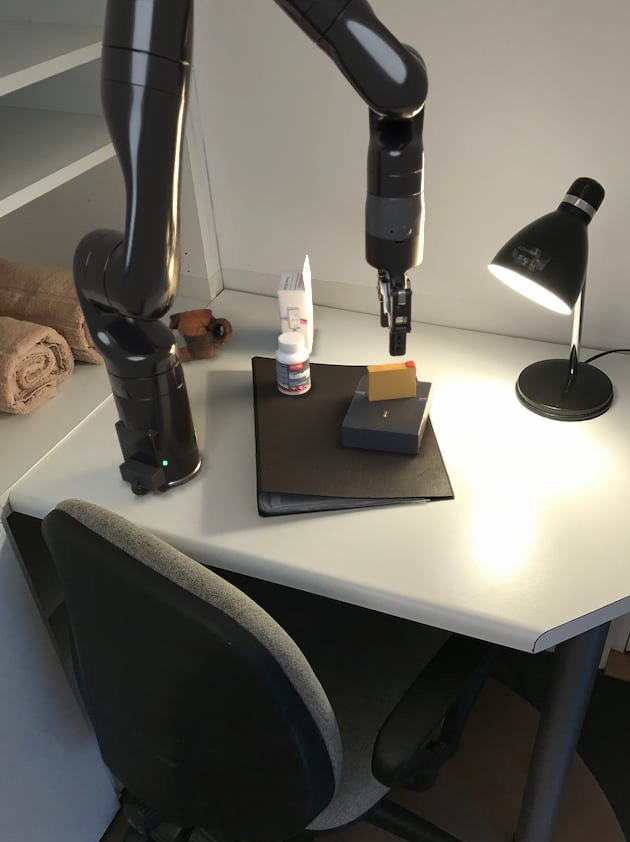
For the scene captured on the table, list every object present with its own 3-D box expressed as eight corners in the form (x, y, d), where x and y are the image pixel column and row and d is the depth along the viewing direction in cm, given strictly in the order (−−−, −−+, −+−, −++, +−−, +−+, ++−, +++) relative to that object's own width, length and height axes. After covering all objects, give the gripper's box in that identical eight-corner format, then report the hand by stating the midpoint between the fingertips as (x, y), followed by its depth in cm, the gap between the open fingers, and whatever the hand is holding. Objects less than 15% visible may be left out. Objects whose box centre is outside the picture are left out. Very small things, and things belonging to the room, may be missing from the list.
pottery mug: (164, 365, 128) (153, 316, 127) (190, 362, 137) (181, 316, 136) (227, 353, 125) (217, 303, 124) (250, 351, 134) (241, 304, 133)
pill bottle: (291, 399, 119) (286, 349, 113) (271, 386, 122) (266, 337, 116) (317, 387, 121) (314, 338, 116) (297, 375, 124) (293, 326, 119)
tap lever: (369, 401, 111) (368, 370, 108) (367, 394, 113) (366, 364, 109) (415, 396, 112) (416, 366, 109) (413, 390, 114) (414, 359, 110)
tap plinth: (418, 454, 107) (419, 433, 105) (341, 446, 109) (340, 425, 107) (432, 399, 118) (433, 379, 116) (362, 392, 120) (362, 372, 118)
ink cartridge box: (286, 331, 136) (280, 252, 127) (314, 331, 136) (309, 252, 127) (282, 355, 130) (274, 273, 120) (311, 354, 130) (305, 273, 120)
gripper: (358, 208, 101) (359, 319, 111) (372, 248, 90) (372, 367, 100) (413, 205, 102) (410, 316, 112) (434, 244, 91) (428, 363, 101)
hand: (392, 340), depth 106 cm, fingers open, 8 cm apart
